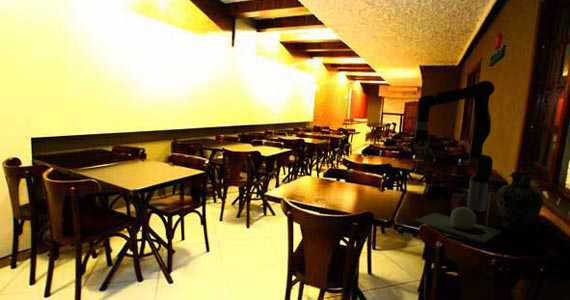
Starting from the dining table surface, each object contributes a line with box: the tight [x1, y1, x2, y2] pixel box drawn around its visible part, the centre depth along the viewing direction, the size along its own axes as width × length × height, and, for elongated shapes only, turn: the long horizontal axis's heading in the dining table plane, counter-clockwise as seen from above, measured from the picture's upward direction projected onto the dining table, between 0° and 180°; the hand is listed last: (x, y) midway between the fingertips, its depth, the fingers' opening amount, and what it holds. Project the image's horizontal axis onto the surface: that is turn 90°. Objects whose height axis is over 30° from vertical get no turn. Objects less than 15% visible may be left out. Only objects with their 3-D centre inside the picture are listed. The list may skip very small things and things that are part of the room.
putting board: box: [414, 191, 503, 243], centre depth 156 cm, size 32×22×19 cm
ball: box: [450, 206, 477, 231], centre depth 155 cm, size 11×11×11 cm
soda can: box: [450, 192, 467, 214], centre depth 176 cm, size 7×7×12 cm
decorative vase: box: [495, 171, 544, 232], centre depth 159 cm, size 21×19×28 cm
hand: (419, 155), depth 195 cm, fingers open, 8 cm apart
